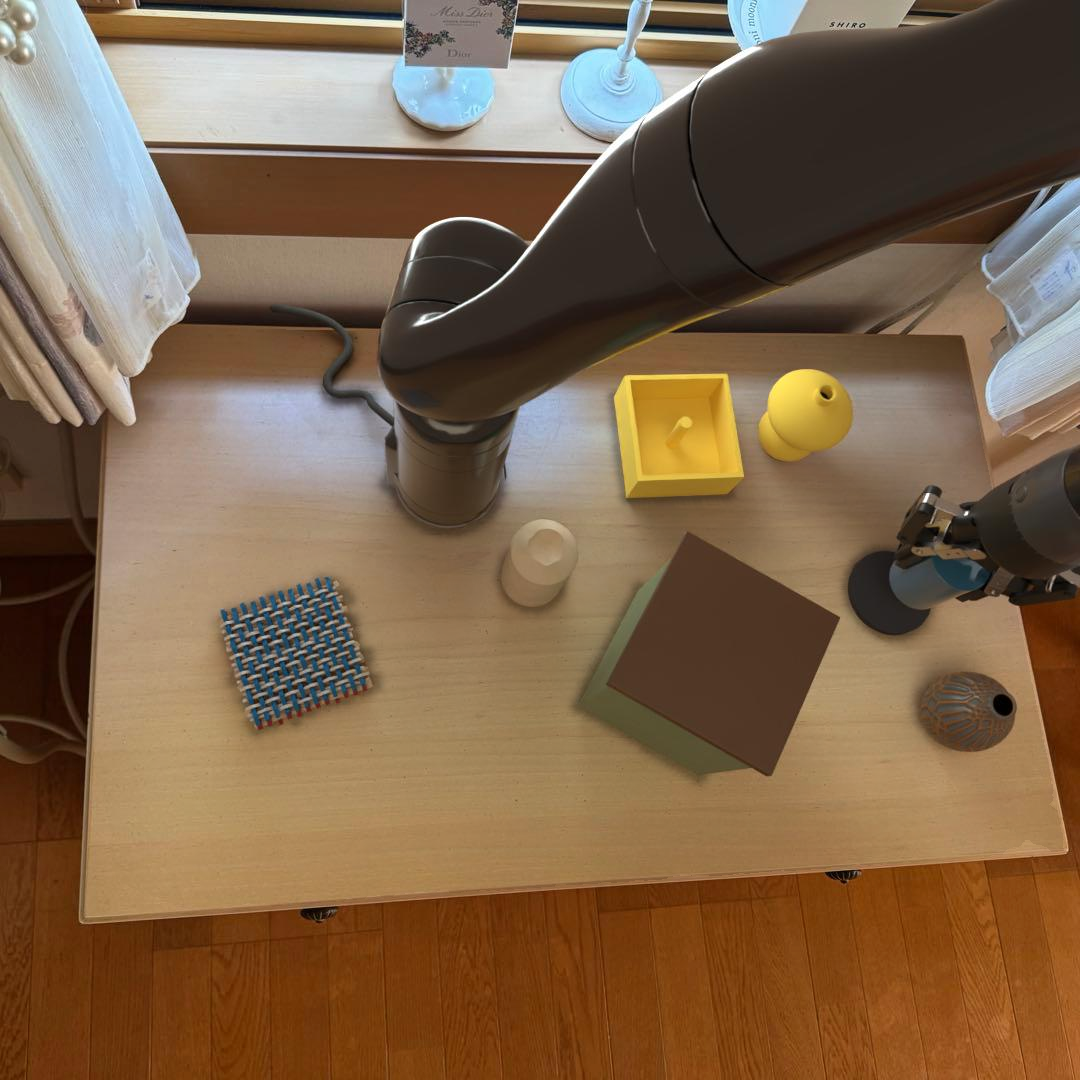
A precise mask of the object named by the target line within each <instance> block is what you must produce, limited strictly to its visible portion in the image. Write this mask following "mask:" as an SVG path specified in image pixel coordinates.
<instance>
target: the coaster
mask: <svg viewBox="0 0 1080 1080" xmlns="http://www.w3.org/2000/svg"><path fill="white" fill-rule="evenodd" d="M895 553H896V551H892V550H891V551H890V550H880V551H875V552H873V553H870V554H868V555H866V556H865V557H863V558H862V559H860V560H858V562H857V563H856V564H855V565H854V567H853V568H852V570H851V571H850V575H849V577H848V582H847V583H848V584H847V592H848V600H849V603H850V605H851V607H852V609H853V611H854V613H855V614H856V615H857V617H858V618H859V620H861V622H862V623H863V624H865V625H866V626H867V627H868V628H869V629H871V630H873V631H876V632H877V633H879V634H883V635H887V636H901V635H906V634H908V633H911V632H913V631H915V630H917V629H918V628H920V627H921V626H922V625H924V623H925V622H926V620H927V619H928V617H929V615H930V613H931V609H932V607H931V608H929V609H924V610H919V609H914V608H911V607H908V606H906V605H905V604H903V603H902V602H901V601H900V600H899V599H898V598H897V597H896V596H895V594H894V592H893V590H892V588H891V585H890V581H889V573H890V569H891V566H892V564H893V563H894V561H895V560H896V559H895V558H894V555H895Z"/></svg>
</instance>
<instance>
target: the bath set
mask: <svg viewBox="0 0 1080 1080" xmlns="http://www.w3.org/2000/svg"><path fill="white" fill-rule="evenodd" d="M730 388H731V387H730V382H729V375H728V373H689V374H687V373H686V374H684V373H683V374H680V373H679V374H678V373H677V374H633V375H632V374H631V375H629V374H628V375H627V374H626V375H624V376H623V378H622V379H621V381H620V384H619V386H618V388H617V390H616V392H615V394H614V396H613V401H614V402H613V403H614V409H615V419H616V426H617V431H618V432H617V435H618V442H619V449H620V457H621V458H620V459H621V465H622V472H623V474H622V475H623V483H624V490H625V498H626V499H635V498H663V497H665V498H666V497H687V496H688V497H689V496H711V495H728V494H729V493H730V492H731V491H732V489H734V488H735V487H736V486H737V485H738V484H739V483H740V482H741V481H742V480H743V479H744V478H745V474H744V468H743V462H742V455H741V450H740V443H739V437H738V430H737V425H736V419H735V412H734V406H733V400H732V395H731V394H732V393H731V389H730ZM766 409H767V410H766V411H765V413H764V414H763V416H762V417H761V419H760V421H759V424H758V429H757V434H758V440H759V443H760V445H761V447H762V448H763V450H764V451H765V452H766V453H767V454H768V455H769V456H771V457H772V458H774V459H775V460H779V461H781V462H782V461H783V462H795V461H799V460H801V459H804V458H805V457H808V455H809V454H811V452H822V451H826V450H829V449H832V448H833V447H835V446H837V445H838V444H840V442H842V441H843V440H844V439H845V438H846V436H847V435H849V432H850V430H851V428H852V424H853V420H854V408H853V403H852V400H851V397H850V394H849V393H848V391H847V390H846V388H845V387H844V385H842V383H840V381H838V380H837V379H836V378H835V377H834V376H832V375H831V374H829V373H827V372H823V371H821V370H818V369H814V368H813V369H812V368H803V369H801V368H800V369H796V370H792V371H790V372H788V373H786V374H784V375H783V376H781V377H780V378H779V379H778V380H777V381H776V383H775V384H774V385H773V386H772V388H771V390H770V392H769V395H768V398H767V408H766Z"/></svg>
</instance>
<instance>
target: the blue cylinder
mask: <svg viewBox="0 0 1080 1080" xmlns="http://www.w3.org/2000/svg"><path fill="white" fill-rule="evenodd" d="M935 539H936V537H934V539H933V541H934V540H935ZM933 541H932V542H933ZM895 562H896V560H895V561H894V563H893V564H892V566H891V569H890V573H889V581H890V585H891V588H892V590H893V592H894V594H895V596H896V597H897V598H898V599H899V600H900V601H901V602H902V603H903V604H905V605H906V606H908V607H911V608H914V609H919V610H924V609H929V608H931V609H932V608H934V607H936V606H939V605H941V604H944V603H947V602H948V601H951V600H954V599H955V598H956V597H959V596H961V595H964V594H966V593H969V592H971V591H974V590H976V589H978V588H980V587H982V586H983V585H984V584H985V583H986V582H987V580H988V578H989V576H990V573H991V572H990V571H988V570H986V569H984V568H983V567H981V566H980V565H979V564H978V563H976V562H974V561H972V560H970V559H967V558H957V559H945V560H943V559H941V558H940V557H939V556H938V555H933V556H924V559H922V560H920V561H918V562H916V563H914V564H912V565H910V566H908V567H906V568H904V569H902V568H900V567H898V566H896V565H895Z"/></svg>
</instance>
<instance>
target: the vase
mask: <svg viewBox="0 0 1080 1080" xmlns="http://www.w3.org/2000/svg"><path fill="white" fill-rule="evenodd" d="M1017 711H1018V705H1017V702H1016V699H1015V697H1014V696H1013V695H1012V693H1010V692H1009V691H1008V690H1007V688H1006V687H1005V686H1003V684H1001V683H1000V682H999V681H998V680H996V679H995V678H993V677H991V676H990V675H986V674H983V673H980V672H975V671H957V672H952V673H948V674H946V675H944V676H942V677H940V678H938V679H937V680H935V681H934V682H933V683H931V684H930V686H929V687H928V688H927V689H926V691H925V692H924V694H923V696H922V699H921V702H920V717H921V721H922V724H923V727H924V728H925V730H926V731H927V733H928V735H929V736H931V737H932V739H934V740H935V741H936V742H937V743H938V744H940V745H942V746H943V747H945V748H948V749H949V750H953V751H956V752H960V753H961V752H962V753H978V752H984V751H987V750H989V749H992V748H994V747H996V746H998V744H1001V743H1002V742H1003V741H1004V740H1005V739H1006V738H1007V737H1008V736H1009V734H1010V733H1011V731H1012V730H1013V727H1014V725H1015V722H1016V714H1017Z"/></svg>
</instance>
